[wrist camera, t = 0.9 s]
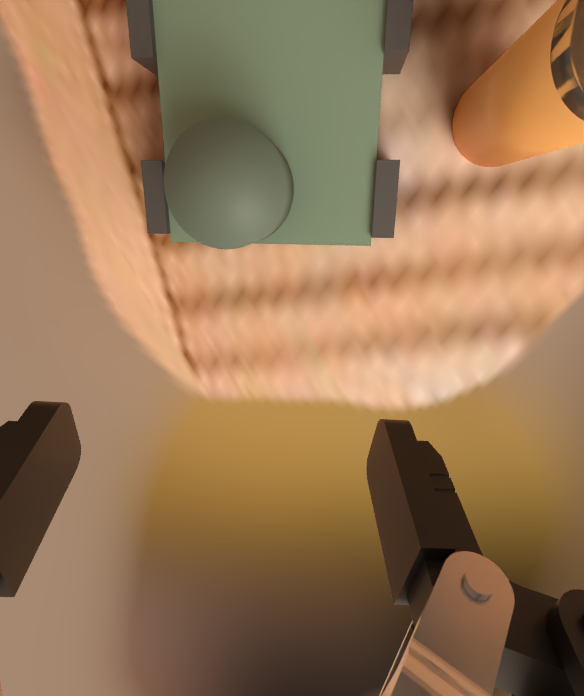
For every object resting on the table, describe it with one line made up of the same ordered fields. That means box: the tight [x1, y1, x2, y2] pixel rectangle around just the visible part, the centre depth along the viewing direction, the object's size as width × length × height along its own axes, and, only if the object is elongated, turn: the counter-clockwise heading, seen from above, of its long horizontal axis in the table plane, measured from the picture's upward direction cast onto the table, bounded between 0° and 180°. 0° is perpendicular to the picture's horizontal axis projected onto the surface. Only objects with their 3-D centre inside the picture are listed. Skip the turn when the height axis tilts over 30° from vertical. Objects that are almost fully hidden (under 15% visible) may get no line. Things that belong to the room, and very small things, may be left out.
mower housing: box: [126, 0, 413, 249], centre depth 21 cm, size 22×15×8 cm
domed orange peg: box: [452, 0, 584, 167], centre depth 18 cm, size 5×5×14 cm
